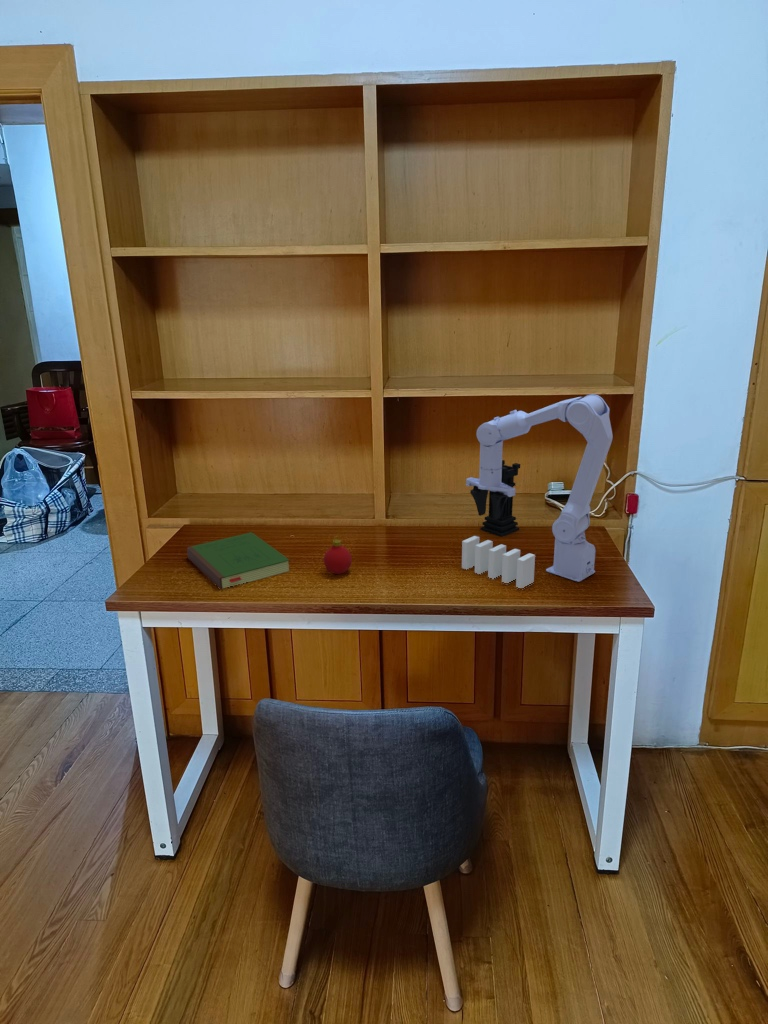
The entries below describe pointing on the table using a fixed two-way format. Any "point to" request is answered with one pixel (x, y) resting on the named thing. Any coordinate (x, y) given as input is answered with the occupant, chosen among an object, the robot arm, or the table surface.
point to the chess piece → (506, 519)
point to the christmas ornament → (337, 558)
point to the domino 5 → (525, 570)
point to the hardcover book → (237, 560)
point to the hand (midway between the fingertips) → (489, 516)
